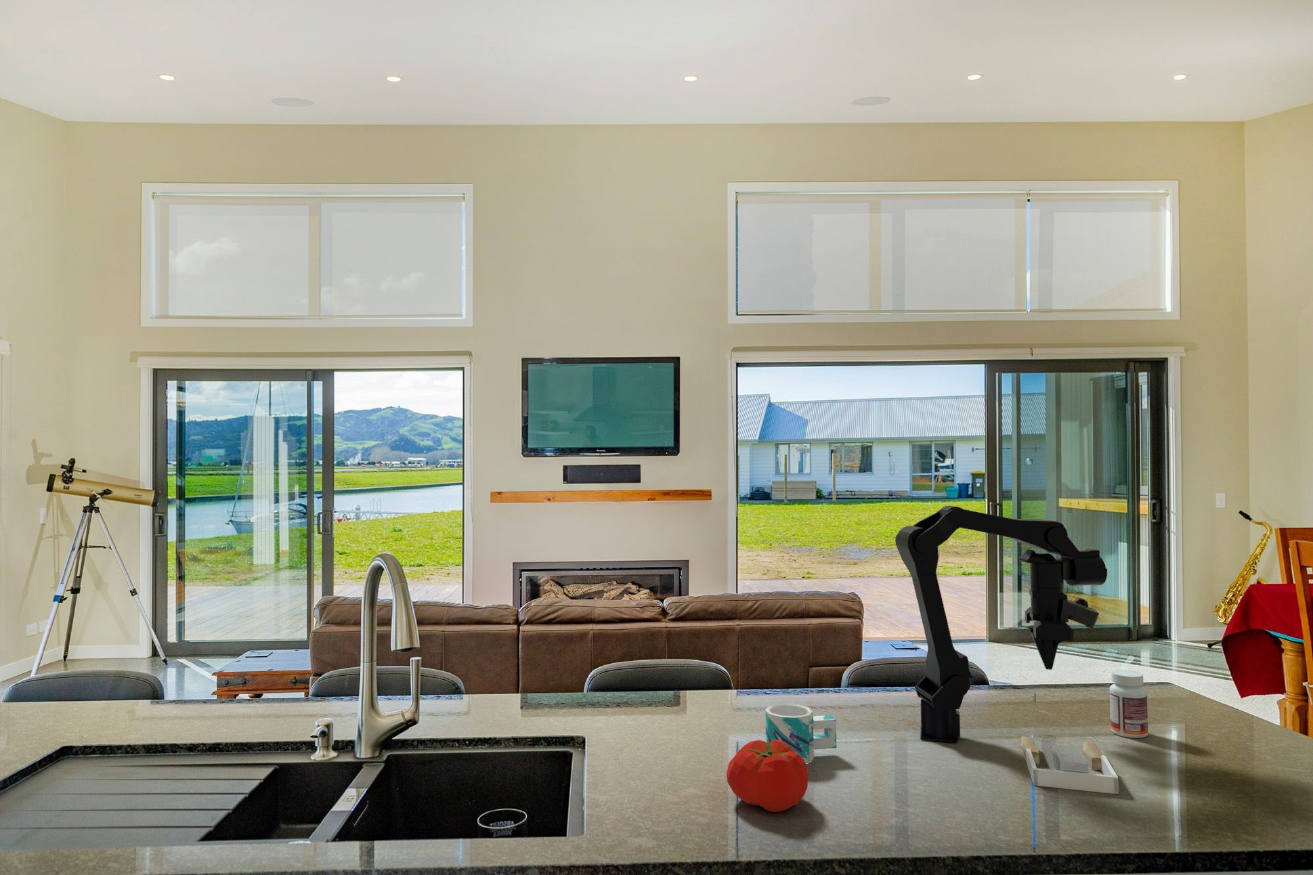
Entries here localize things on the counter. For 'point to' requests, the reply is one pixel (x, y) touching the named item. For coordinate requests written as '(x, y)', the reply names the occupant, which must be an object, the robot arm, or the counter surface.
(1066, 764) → the chip near
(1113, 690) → the pill bottle
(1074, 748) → the block
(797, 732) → the mug
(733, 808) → the counter surface
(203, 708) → the counter surface
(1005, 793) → the counter surface
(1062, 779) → the chip tray
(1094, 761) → the slot rails
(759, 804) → the tomato
